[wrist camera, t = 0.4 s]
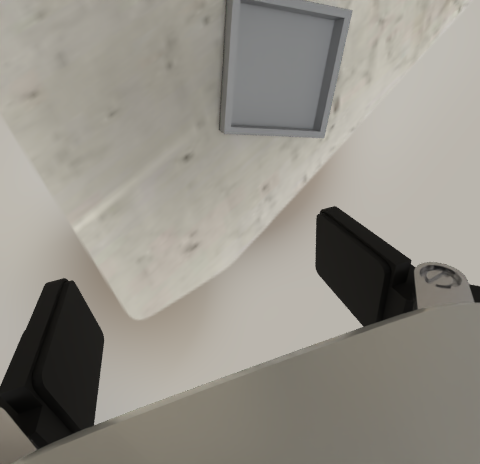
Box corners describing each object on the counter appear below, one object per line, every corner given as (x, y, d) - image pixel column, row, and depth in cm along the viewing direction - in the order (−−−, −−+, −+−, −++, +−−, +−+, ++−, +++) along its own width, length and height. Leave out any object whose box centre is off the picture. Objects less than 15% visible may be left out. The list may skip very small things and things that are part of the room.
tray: (227, -9, 31) (233, -14, 29) (339, 13, 35) (352, 10, 33) (219, 129, 37) (224, 133, 35) (314, 134, 41) (324, 138, 39)
